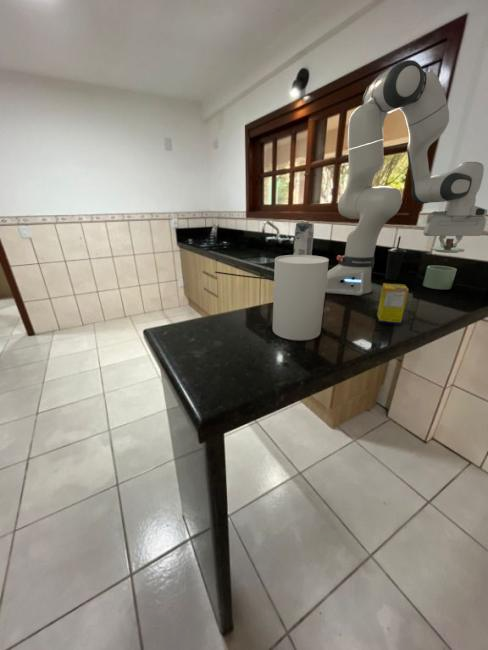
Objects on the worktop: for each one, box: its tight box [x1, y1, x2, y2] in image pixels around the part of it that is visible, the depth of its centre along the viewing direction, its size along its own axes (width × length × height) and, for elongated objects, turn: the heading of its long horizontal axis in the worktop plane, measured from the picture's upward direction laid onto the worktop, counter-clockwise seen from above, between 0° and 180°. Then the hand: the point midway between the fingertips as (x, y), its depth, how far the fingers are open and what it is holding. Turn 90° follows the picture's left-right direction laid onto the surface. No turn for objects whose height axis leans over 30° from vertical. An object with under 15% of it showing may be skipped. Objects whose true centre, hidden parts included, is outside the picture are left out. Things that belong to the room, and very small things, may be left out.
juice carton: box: [293, 219, 315, 255], centre depth 141 cm, size 9×10×27 cm
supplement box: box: [376, 282, 409, 326], centre depth 79 cm, size 6×6×11 cm
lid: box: [430, 237, 465, 254], centre depth 107 cm, size 11×11×5 cm
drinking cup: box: [384, 235, 407, 281], centre depth 125 cm, size 8×8×20 cm
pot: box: [422, 265, 458, 290], centre depth 113 cm, size 10×10×8 cm
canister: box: [271, 254, 330, 341], centre depth 71 cm, size 14×14×20 cm
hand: (447, 247), depth 108 cm, fingers closed on lid, 2 cm apart
